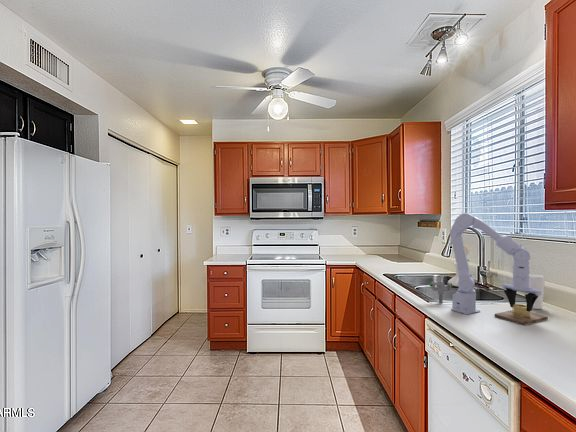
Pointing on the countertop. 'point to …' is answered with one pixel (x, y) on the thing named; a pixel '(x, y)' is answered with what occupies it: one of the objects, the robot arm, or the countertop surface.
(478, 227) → the robot arm
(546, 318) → the hub board
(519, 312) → the brass collar
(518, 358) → the countertop surface
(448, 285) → the mechanical component
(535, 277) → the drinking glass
